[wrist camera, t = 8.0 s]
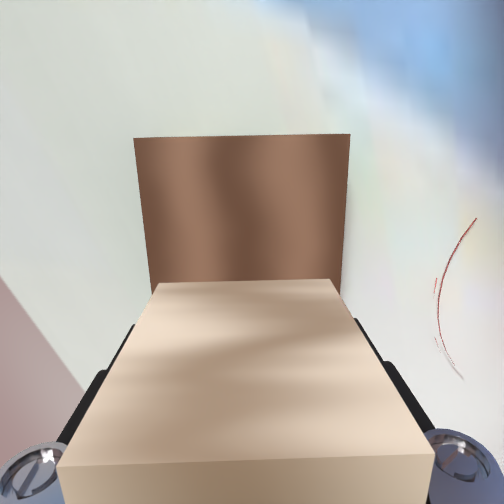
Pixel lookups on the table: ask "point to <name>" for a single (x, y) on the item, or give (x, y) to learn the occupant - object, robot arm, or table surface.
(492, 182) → the table surface
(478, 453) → the robot arm
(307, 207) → the walnut base
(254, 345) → the maple block
